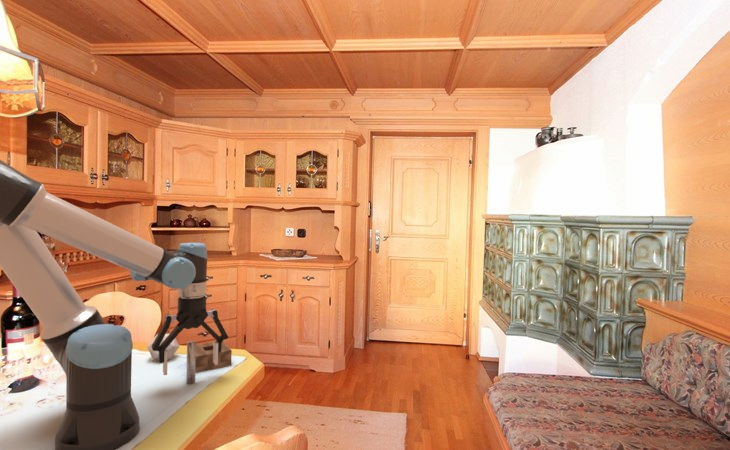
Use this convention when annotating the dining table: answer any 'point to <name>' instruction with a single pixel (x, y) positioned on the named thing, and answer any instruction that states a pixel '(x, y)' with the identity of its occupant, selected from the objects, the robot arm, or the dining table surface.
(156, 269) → the robot arm
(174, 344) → the die
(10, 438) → the dining table surface
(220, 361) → the socket block
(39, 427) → the dining table surface
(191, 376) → the pin
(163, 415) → the dining table surface
